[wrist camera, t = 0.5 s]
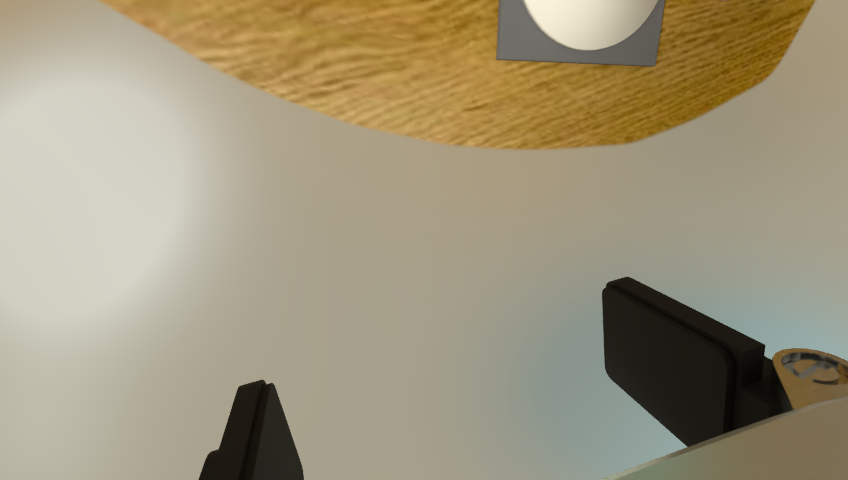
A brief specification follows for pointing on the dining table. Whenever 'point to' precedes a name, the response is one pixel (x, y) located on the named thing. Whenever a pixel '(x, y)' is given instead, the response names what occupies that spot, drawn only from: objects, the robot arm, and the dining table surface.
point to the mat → (530, 44)
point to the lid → (588, 20)
